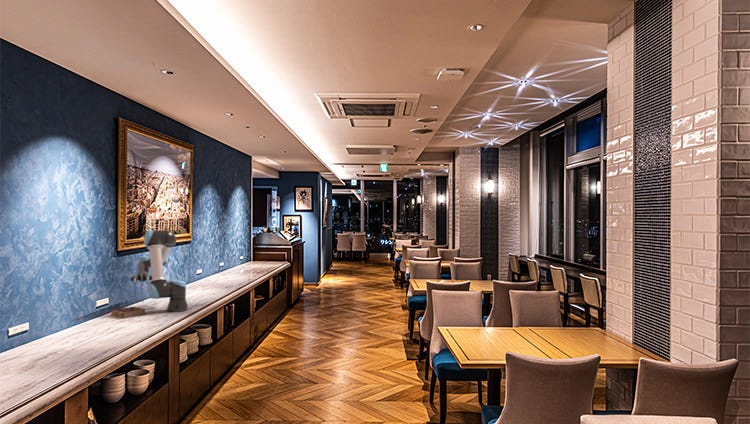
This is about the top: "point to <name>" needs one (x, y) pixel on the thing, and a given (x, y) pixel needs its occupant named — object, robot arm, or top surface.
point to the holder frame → (128, 312)
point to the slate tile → (146, 307)
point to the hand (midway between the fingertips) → (141, 280)
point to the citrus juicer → (141, 272)
